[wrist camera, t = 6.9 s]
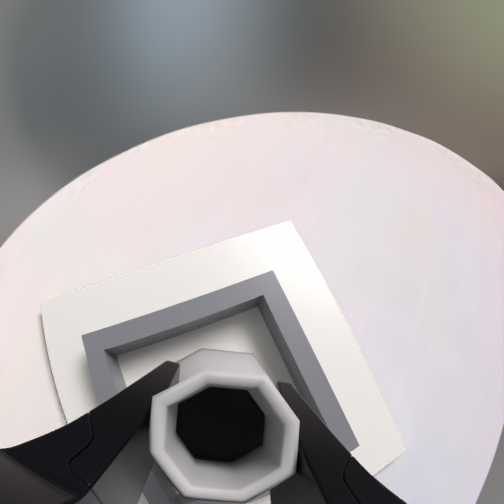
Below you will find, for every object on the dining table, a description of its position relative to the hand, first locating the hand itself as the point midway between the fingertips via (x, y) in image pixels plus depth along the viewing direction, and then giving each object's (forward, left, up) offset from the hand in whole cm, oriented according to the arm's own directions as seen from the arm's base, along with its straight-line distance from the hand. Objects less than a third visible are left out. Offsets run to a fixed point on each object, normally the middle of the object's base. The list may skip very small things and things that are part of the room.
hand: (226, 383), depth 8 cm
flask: (-1, +1, -7) cm, 7 cm away
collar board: (-1, +1, -9) cm, 9 cm away
